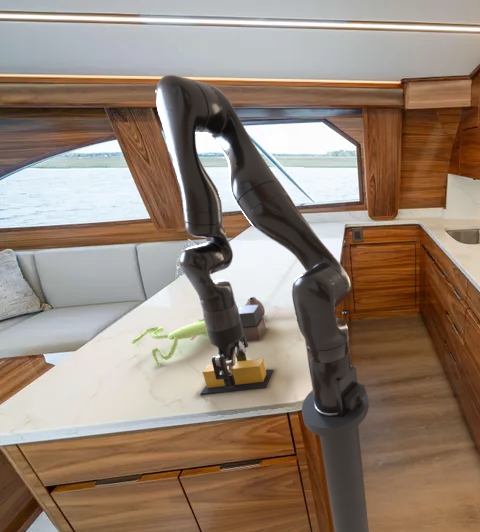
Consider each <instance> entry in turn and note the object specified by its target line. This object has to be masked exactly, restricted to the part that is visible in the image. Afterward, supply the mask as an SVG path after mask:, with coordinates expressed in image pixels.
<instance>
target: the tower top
mask: <svg viewBox="0 0 480 532" xmlns="http://www.w3.org/2000/svg"><path fill="white" fill-rule="evenodd" d="M238 310H239V314H240V318H241V322H242V327H253V326H257V324H258V323H259V321H260V320H261V318H262V316H261V311H260V306H259V305H248V306H245V305H240V306H239V307H238Z"/></svg>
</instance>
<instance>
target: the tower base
mask: <svg viewBox="0 0 480 532" xmlns="http://www.w3.org/2000/svg"><path fill="white" fill-rule="evenodd" d="M265 321H266V320H265V317H264V316H263V317H262V318H261V320H260V321H259V323H258V324H257V326H253V327H243V329H244V332H245V335H246V339H247V342H252V341H253V342H254V341H261V339H263V338H262V337H263V336H264V335H265V332H266V331H267V325H266V322H265ZM241 342H242V343H244V342H243V341H241Z"/></svg>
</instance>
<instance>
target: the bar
mask: <svg viewBox="0 0 480 532" xmlns="http://www.w3.org/2000/svg"><path fill="white" fill-rule="evenodd" d="M230 362H231V361H226V363H230ZM227 369H228V371H229V366H227ZM266 370H267V369H266V365H265V360H264V358H258V359H257V358H256V359H249V360H248V359H247V361H237V360H236V361H235V365H234V366H233V373H232V374H233V376H234V380H235V384H236V385H239V384H248V383H257V382H263V381H264V379H265V376H266ZM219 372H220V371H219ZM202 375H203V379H204V382H205V386H207V388H211V387H220V386H225V384H224V380H223V379H219V380H216V376H215V372H214V368H213V364H212V363H209V364H207V366H206V367H205V368H204V369H203V371H202Z"/></svg>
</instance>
